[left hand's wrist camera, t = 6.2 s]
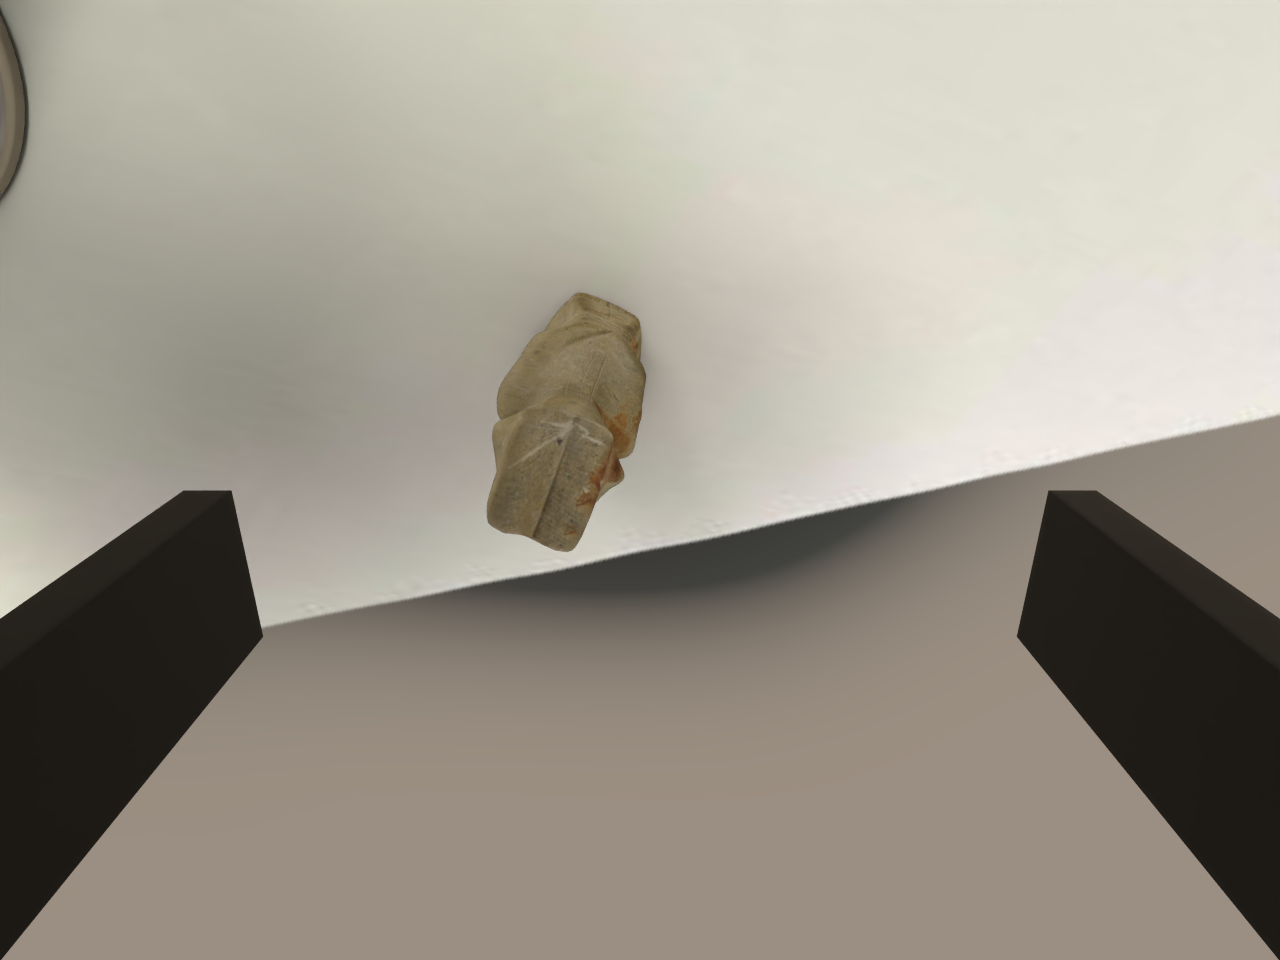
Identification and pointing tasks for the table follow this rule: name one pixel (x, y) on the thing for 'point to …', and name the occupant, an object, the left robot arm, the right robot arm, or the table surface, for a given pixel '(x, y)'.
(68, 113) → the table surface
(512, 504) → the sculpture
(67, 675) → the left robot arm
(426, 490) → the table surface
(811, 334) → the table surface
